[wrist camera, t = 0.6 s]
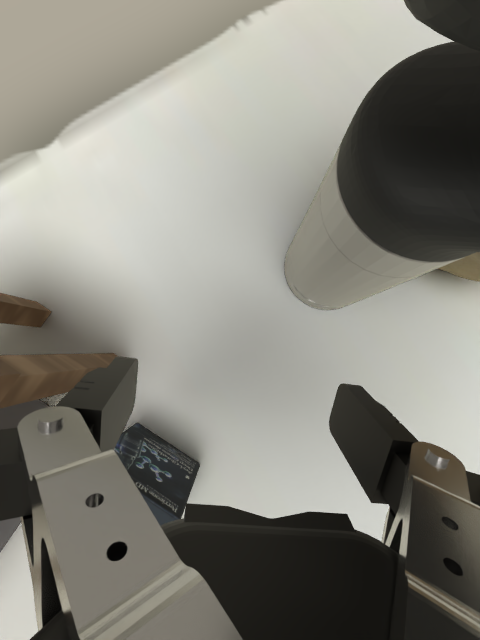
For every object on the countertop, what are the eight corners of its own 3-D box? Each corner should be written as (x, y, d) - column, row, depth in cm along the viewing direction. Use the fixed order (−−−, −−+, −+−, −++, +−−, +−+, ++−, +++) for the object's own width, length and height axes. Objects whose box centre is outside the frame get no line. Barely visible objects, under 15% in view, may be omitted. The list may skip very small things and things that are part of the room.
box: (201, 462, 30) (182, 521, 20) (170, 512, 30) (133, 601, 19) (137, 419, 31) (84, 456, 20) (105, 468, 30) (34, 532, 20)
